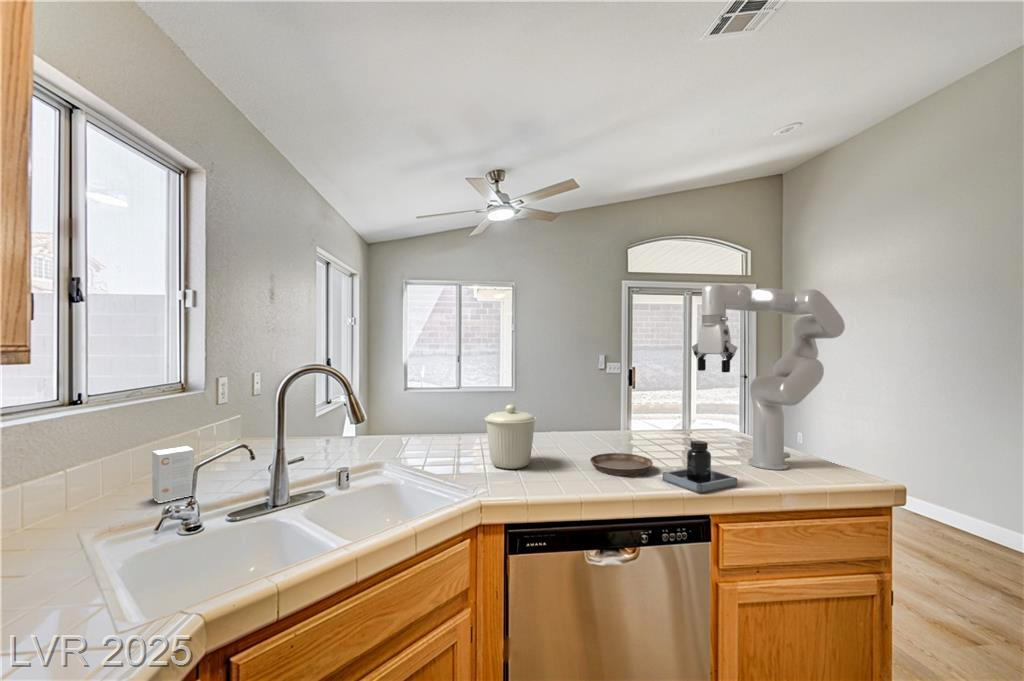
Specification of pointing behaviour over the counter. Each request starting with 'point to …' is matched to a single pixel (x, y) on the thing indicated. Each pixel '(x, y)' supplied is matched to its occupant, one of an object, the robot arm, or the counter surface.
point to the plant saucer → (621, 463)
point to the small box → (172, 473)
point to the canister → (510, 437)
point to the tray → (716, 483)
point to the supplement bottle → (699, 462)
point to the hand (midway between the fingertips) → (713, 371)
